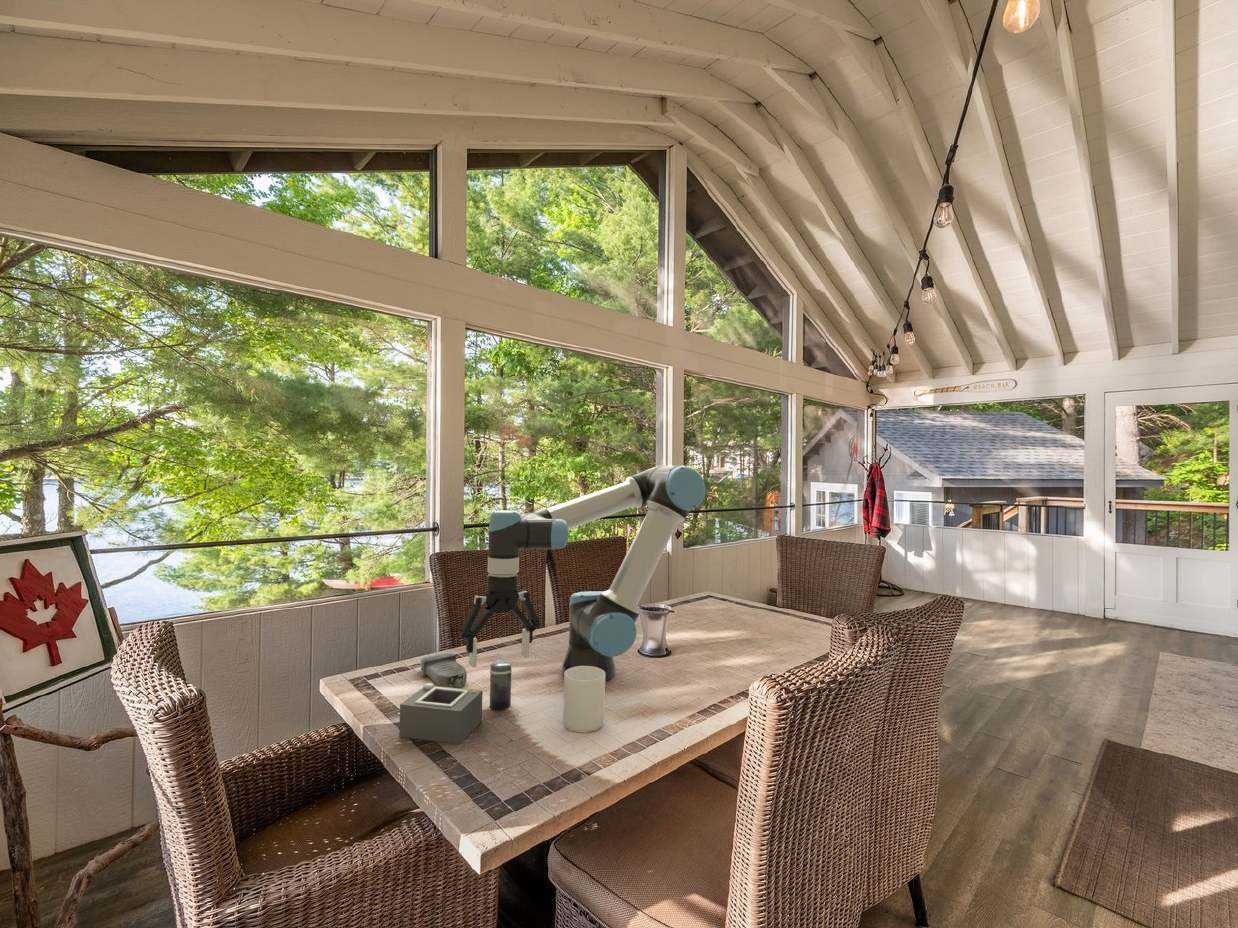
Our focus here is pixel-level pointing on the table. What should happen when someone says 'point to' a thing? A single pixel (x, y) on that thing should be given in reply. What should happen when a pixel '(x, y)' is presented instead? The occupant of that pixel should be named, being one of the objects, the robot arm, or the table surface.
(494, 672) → the lens
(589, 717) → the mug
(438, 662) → the handheld device
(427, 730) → the grey planter box
